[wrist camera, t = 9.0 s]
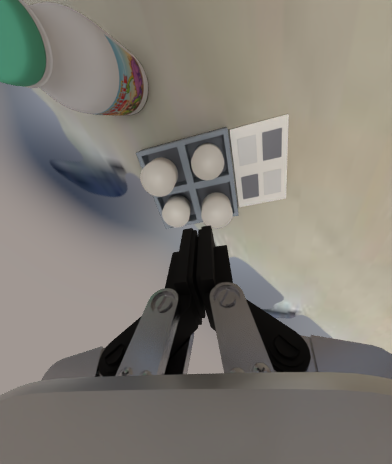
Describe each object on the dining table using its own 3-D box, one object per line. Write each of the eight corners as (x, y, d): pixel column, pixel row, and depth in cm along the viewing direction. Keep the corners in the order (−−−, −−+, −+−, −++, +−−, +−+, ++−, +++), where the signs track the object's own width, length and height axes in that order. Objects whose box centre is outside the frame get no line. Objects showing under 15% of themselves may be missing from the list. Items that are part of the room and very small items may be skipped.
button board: (141, 150, 31) (135, 152, 29) (225, 127, 29) (227, 128, 26) (168, 221, 39) (165, 228, 37) (236, 208, 37) (238, 215, 34)
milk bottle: (91, 92, 27) (-94, 52, 11) (108, 32, 24) (-131, -172, 7) (136, 126, 29) (42, 138, 13) (158, 77, 26) (69, 3, 9)
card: (229, 129, 29) (229, 129, 28) (287, 114, 27) (289, 113, 27) (238, 206, 36) (239, 207, 36) (284, 197, 35) (286, 198, 34)
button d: (199, 192, 31) (198, 204, 27) (227, 186, 31) (230, 197, 26) (205, 216, 34) (204, 230, 30) (231, 212, 33) (234, 225, 29)
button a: (145, 159, 29) (134, 167, 25) (174, 152, 28) (168, 158, 24) (156, 188, 31) (148, 199, 27) (182, 182, 31) (178, 192, 26)
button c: (163, 195, 35) (157, 205, 31) (187, 189, 34) (185, 200, 30) (171, 216, 38) (167, 229, 34) (194, 212, 37) (192, 224, 33)
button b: (190, 145, 30) (187, 150, 26) (219, 138, 29) (221, 141, 25) (197, 174, 33) (195, 183, 28) (223, 168, 32) (226, 176, 28)
